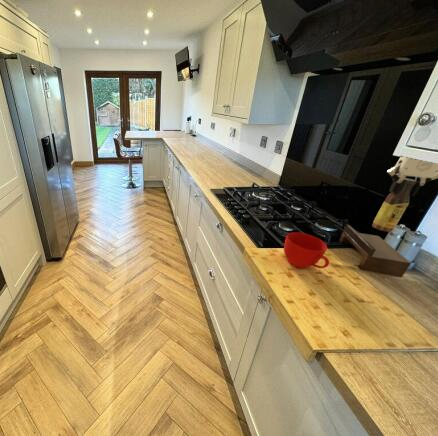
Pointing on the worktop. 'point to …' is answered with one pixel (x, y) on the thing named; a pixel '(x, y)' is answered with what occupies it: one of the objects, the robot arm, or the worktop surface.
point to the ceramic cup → (304, 250)
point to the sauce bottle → (394, 207)
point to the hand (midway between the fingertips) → (401, 193)
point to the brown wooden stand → (375, 253)
